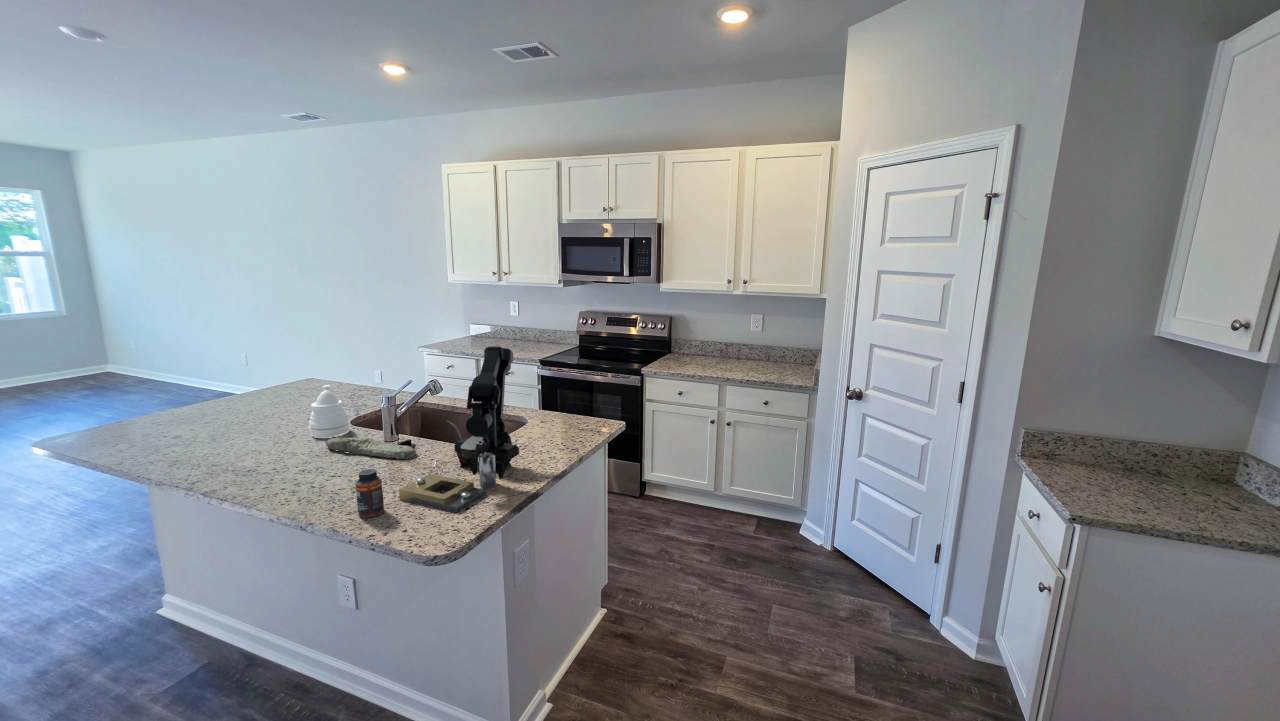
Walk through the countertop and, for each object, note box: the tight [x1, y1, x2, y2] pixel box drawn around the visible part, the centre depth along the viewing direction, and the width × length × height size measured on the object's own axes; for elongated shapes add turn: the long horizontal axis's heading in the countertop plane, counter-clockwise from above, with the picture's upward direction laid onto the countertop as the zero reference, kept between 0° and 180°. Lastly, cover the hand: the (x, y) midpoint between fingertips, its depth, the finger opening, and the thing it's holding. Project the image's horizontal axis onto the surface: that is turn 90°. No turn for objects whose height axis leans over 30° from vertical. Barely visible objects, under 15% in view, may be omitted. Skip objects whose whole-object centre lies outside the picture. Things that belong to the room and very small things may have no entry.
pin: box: [478, 452, 497, 489], centre depth 150 cm, size 4×4×9 cm
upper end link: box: [398, 473, 475, 505], centre depth 142 cm, size 12×16×4 cm
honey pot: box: [308, 384, 350, 437], centre depth 193 cm, size 13×13×18 cm
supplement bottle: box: [355, 468, 385, 519], centre depth 131 cm, size 6×6×11 cm
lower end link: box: [410, 485, 487, 514], centre depth 141 cm, size 12×16×2 cm
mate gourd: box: [446, 420, 470, 469], centre depth 164 cm, size 8×8×15 cm
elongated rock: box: [325, 436, 417, 460], centre depth 176 cm, size 35×5×10 cm
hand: (487, 476), depth 150 cm, fingers open, 9 cm apart
